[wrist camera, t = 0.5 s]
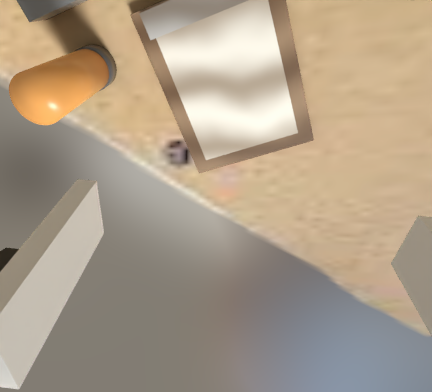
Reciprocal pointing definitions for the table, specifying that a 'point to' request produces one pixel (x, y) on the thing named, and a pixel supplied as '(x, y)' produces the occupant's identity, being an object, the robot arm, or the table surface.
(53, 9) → the button housing
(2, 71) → the table surface
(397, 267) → the robot arm
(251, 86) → the board
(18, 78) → the marker
